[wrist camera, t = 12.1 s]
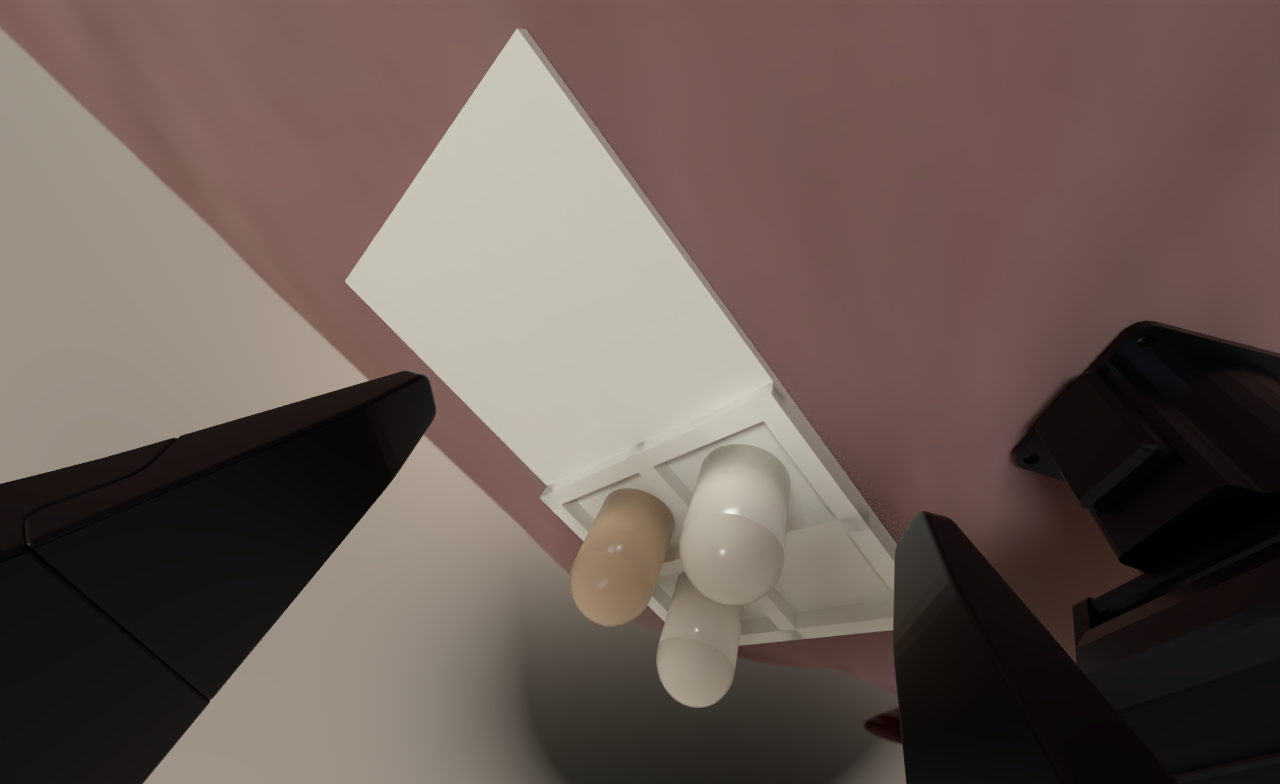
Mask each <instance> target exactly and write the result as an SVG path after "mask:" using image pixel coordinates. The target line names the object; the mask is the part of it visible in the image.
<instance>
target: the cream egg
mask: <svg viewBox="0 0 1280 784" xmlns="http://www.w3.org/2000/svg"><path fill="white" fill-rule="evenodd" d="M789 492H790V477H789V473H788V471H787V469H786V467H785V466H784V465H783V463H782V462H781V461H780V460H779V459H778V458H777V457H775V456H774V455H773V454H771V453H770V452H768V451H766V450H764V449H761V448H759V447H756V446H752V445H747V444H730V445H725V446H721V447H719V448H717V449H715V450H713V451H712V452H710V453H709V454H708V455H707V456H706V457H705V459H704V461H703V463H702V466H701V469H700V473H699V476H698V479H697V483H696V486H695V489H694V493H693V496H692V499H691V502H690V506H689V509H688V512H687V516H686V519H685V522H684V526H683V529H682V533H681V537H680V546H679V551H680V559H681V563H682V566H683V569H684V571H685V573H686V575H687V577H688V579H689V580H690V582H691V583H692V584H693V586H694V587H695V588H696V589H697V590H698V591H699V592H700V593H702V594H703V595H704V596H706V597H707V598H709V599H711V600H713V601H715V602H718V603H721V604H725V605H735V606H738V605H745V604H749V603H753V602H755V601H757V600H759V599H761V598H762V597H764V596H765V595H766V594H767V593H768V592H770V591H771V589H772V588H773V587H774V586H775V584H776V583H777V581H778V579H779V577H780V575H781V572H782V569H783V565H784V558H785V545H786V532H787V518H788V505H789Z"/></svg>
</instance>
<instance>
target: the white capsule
mask: <svg viewBox="0 0 1280 784" xmlns="http://www.w3.org/2000/svg"><path fill="white" fill-rule="evenodd" d="M743 611H744V605H738V606H735V605H725V604H721V603H718V602H715V601H713V600H711V599H709V598H707V597H706V596H704V595H703V594H702V593H700V592H699V591H698V590H697V589H696V588H695V587H694V586H693V584H692V583H691V582H690V580H689V579H688V577H687V575H686V573H685V571H684V572H682V573H681V574H680V575H679V576H678V578H677V581H676V585H675V588H674V592H673V595H672V599H671V602H670V606H669V610H668V613H667V617H666V620H665V624H664V627H663V631H662V634H661V638H660V642H659V645H658V650H657V656H656V660H657V661H656V662H657V670H658V674H659V677H660V680H661V682H662V684H663V686H664V687H665V689H666V690H667V692H668V693H669V694H670V695H671V696H672V697H673V698H674V699H675V700H677V701H678V702H680V703H682V704H684V705H686V706H689V707H696V708H701V707H706V706H710V705H712V704H714V703H716V702H717V701H719V700H720V699H721V698H722V697H723V696H724V695H725V694H726V693H727V691H728V690H729V688H730V686H731V684H732V681H733V678H734V673H735V666H736V660H737V653H738V646H739V639H740V632H741V625H742V618H743Z"/></svg>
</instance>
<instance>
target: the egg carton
mask: <svg viewBox="0 0 1280 784" xmlns="http://www.w3.org/2000/svg"><path fill="white" fill-rule="evenodd" d="M345 282H346V283H347V284H348V285H349V286H350V287H351V288H352V289H353V290H354V291H355V292H356V293H357V294H358V295H359V296H360V297H361V298H362V299H363V300H364V301H365V302H366V303H367V304H368V305H369V306H370V307H371V308H372V309H373V310H374V311H375V312H376V314H377V315H378V316H379V317H380V318H381V319H382V320H383V321H384V322H385V323H386V324H387V325H388V326H389V327H390V328H391V329H392V330H393V331H394V332H395V333H396V334H397V335H398V336H399V337H400V338H401V339H402V340H403V341H404V342H405V343H406V344H407V345H408V346H409V347H410V348H411V349H412V350H413V351H414V352H415V353H416V354H417V355H418V356H419V357H420V358H421V359H422V360H423V361H424V362H425V363H426V364H427V365H428V366H429V367H430V368H431V369H432V370H433V371H434V372H435V373H436V374H437V375H438V376H439V377H440V378H441V379H442V380H443V381H444V382H445V383H446V384H447V385H448V386H449V387H450V388H451V389H452V390H453V391H454V392H455V393H456V394H457V395H458V396H459V397H460V398H461V399H462V400H463V401H464V402H465V403H466V404H467V405H468V406H469V407H470V408H471V409H472V410H473V411H474V413H475V414H476V415H477V416H478V417H479V418H480V419H481V420H482V421H483V422H484V423H485V424H486V425H487V426H488V427H489V428H490V429H491V430H492V431H493V432H494V433H495V434H496V435H497V436H498V437H499V438H500V439H501V440H502V441H503V442H504V443H505V444H506V445H507V446H508V447H509V448H510V449H511V450H512V451H513V452H514V453H515V454H516V455H517V456H518V457H519V458H520V459H521V460H522V461H523V462H524V463H525V464H526V465H527V466H528V467H529V468H530V469H531V470H532V471H533V472H534V473H535V474H536V475H537V476H538V477H539V478H540V479H541V480H542V481H543V482H544V483H545V484H546V485H547V487H546V489H545V490H544V492H543V493H542V495H541V496H540V499H541V500H542V501H543V502H544V503H545V504H546V505H547V506H548V507H549V508H550V509H551V510H552V511H553V512H554V513H555V514H556V515H557V516H558V517H559V518H560V519H561V520H563V521H564V522H565V523H566V524H567V525H568V526H569V527H570V528H571V529H572V530H573V531H574V532H575V533H576V534H577V535H578V536H579V537H580V538H581V539H582V540H583V541H585V539H586V537H587V535H588V533H589V531H590V529H591V527H592V525H593V523H594V521H595V519H596V517H597V515H598V513H599V511H600V509H601V507H602V505H603V503H604V501H605V499H606V497H607V496H608V495H609V494H610V493H611V492H613V491H615V490H618V489H622V488H632V489H638V490H642V491H645V492H647V493H650V494H652V495H654V496H655V497H657V498H658V499H660V500H661V501H662V502H663V503H664V504H665V505H666V506H667V507H668V508H669V509H670V511H671V513H672V515H673V517H674V522H675V526H674V530H673V533H672V536H671V539H670V542H669V545H668V548H667V551H666V554H665V557H664V561H663V564H662V567H661V570H660V573H659V576H658V579H657V582H656V585H655V588H654V591H653V595H652V597H651V600H650V602H649V604H648V606H649V607H650V608H651V609H652V610H653V611H654V612H655V613H656V614H657V615H658V616H659V617H660V618H661V619H662V620H663V621H664V622H665V620H666V617H667V613H668V610H669V606H670V602H671V599H672V595H673V592H674V588H675V585H676V581H677V578H678V576H679V575H680V574H681V573H682V572H684V569H683V566H682V563H681V559H680V551H679V546H680V537H681V533H682V529H683V526H684V522H685V519H686V516H687V512H688V509H689V506H690V502H691V499H692V496H693V493H694V489H695V486H696V483H697V479H698V476H699V473H700V469H701V466H702V463H703V461H704V459H705V457H706V456H707V455H708V454H709V453H710V452H712V451H713V450H715V449H717V448H719V447H721V446H725V445H730V444H747V445H752V446H756V447H759V448H761V449H764V450H766V451H768V452H770V453H771V454H773V455H774V456H775V457H777V458H778V459H779V460H780V461H781V462H782V463H783V465H784V466H785V467H786V469H787V471H788V473H789V477H790V492H789V505H788V518H787V532H786V545H785V558H784V565H783V569H782V572H781V575H780V577H779V579H778V581H777V583H776V584H775V586H774V587H773V588H772V589H771V591H770V592H768V593H767V594H766V595H765V596H764V597H762V598H761V599H759V600H757V601H755V602H753V603H749V604H745V605H744V611H743V618H742V625H741V632H740V639H739V646H741V645H751V644H761V643H770V642H780V641H790V640H800V639H810V638H820V637H829V636H839V635H849V634H859V633H869V632H879V631H889V630H893V610H894V562H895V549H896V546H897V544H896V542H895V541H894V540H893V538H892V537H891V535H890V534H889V533H888V531H887V530H886V529H885V527H884V526H883V524H882V523H881V522H880V520H879V519H878V517H877V516H876V515H875V513H874V512H873V510H872V509H871V508H870V506H869V505H868V504H867V502H866V501H865V499H864V498H863V497H862V495H861V494H860V492H859V491H858V490H857V488H856V487H855V485H854V484H853V483H852V481H851V480H850V479H849V477H848V476H847V474H846V473H845V472H844V470H843V469H842V467H841V466H840V465H839V463H838V462H837V460H836V459H835V458H834V456H833V455H832V454H831V452H830V451H829V449H828V448H827V447H826V445H825V444H824V442H823V441H822V440H821V438H820V437H819V435H818V434H817V433H816V431H815V430H814V429H813V427H812V426H811V424H810V423H809V422H808V420H807V419H806V417H805V416H804V415H803V413H802V412H801V410H800V409H799V408H798V406H797V405H796V404H795V402H794V401H793V399H792V398H791V397H790V395H789V394H788V392H787V391H786V390H785V388H784V387H783V385H782V384H781V383H780V381H779V380H778V379H777V377H776V376H775V374H774V373H773V372H772V370H771V369H770V367H769V366H768V365H767V363H766V362H765V360H764V359H763V358H762V356H761V355H760V354H759V352H758V351H757V349H756V348H755V347H754V345H753V344H752V342H751V341H750V340H749V338H748V337H747V335H746V334H745V333H744V331H743V330H742V328H741V327H740V326H739V324H738V323H737V322H736V320H735V319H734V317H733V316H732V315H731V313H730V312H729V310H728V309H727V308H726V306H725V305H724V303H723V302H722V301H721V299H720V298H719V297H718V295H717V294H716V292H715V291H714V290H713V288H712V287H711V285H710V284H709V283H708V281H707V280H706V278H705V277H704V276H703V274H702V273H701V272H700V270H699V269H698V267H697V266H696V265H695V263H694V262H693V260H692V259H691V258H690V256H689V255H688V253H687V252H686V251H685V249H684V248H683V247H682V245H681V244H680V242H679V241H678V240H677V238H676V237H675V235H674V234H673V233H672V231H671V230H670V228H669V227H668V226H667V224H666V223H665V222H664V220H663V219H662V217H661V216H660V215H659V213H658V212H657V210H656V209H655V208H654V206H653V205H652V203H651V202H650V201H649V199H648V198H647V197H646V195H645V194H644V192H643V191H642V190H641V188H640V187H639V185H638V184H637V183H636V181H635V180H634V178H633V177H632V176H631V174H630V173H629V172H628V170H627V169H626V167H625V166H624V165H623V163H622V162H621V160H620V159H619V158H618V156H617V155H616V153H615V152H614V151H613V149H612V148H611V147H610V145H609V144H608V142H607V141H606V140H605V138H604V137H603V135H602V134H601V133H600V131H599V130H598V128H597V127H596V126H595V124H594V123H593V122H592V120H591V119H590V117H589V116H588V115H587V113H586V112H585V110H584V109H583V108H582V106H581V105H580V103H579V102H578V101H577V99H576V98H575V97H574V95H573V94H572V92H571V91H570V90H569V88H568V87H567V85H566V84H565V83H564V81H563V80H562V78H561V77H560V76H559V74H558V73H557V72H556V70H555V69H554V67H553V66H552V65H551V63H550V62H549V60H548V59H547V58H546V56H545V55H544V53H543V52H542V51H541V49H540V48H539V47H538V45H537V44H536V42H535V41H534V40H533V38H532V37H531V35H530V34H529V33H528V31H527V30H526V29H518V28H517V29H516V31H515V32H514V34H513V35H512V37H511V38H510V40H509V41H508V43H507V44H506V46H505V47H504V49H503V50H502V52H501V53H500V54H499V56H498V57H497V59H496V60H495V62H494V63H493V65H492V66H491V68H490V69H489V71H488V72H487V74H486V75H485V76H484V78H483V79H482V81H481V82H480V84H479V85H478V87H477V88H476V90H475V91H474V93H473V94H472V96H471V97H470V98H469V100H468V101H467V103H466V104H465V106H464V107H463V109H462V110H461V112H460V113H459V115H458V116H457V118H456V119H455V121H454V122H453V123H452V125H451V126H450V128H449V129H448V131H447V132H446V134H445V135H444V137H443V138H442V140H441V141H440V143H439V144H438V145H437V147H436V148H435V150H434V151H433V153H432V154H431V156H430V157H429V159H428V160H427V162H426V163H425V165H424V166H423V168H422V169H421V170H420V172H419V173H418V175H417V176H416V178H415V179H414V181H413V182H412V184H411V185H410V187H409V188H408V190H407V191H406V192H405V194H404V195H403V197H402V198H401V200H400V201H399V203H398V204H397V206H396V207H395V209H394V210H393V212H392V213H391V214H390V216H389V217H388V219H387V220H386V222H385V223H384V225H383V226H382V228H381V229H380V231H379V232H378V234H377V235H376V237H375V238H374V239H373V241H372V242H371V244H370V245H369V247H368V248H367V250H366V251H365V253H364V254H363V256H362V257H361V259H360V260H359V261H358V263H357V264H356V266H355V267H354V269H353V270H352V272H351V273H350V275H349V276H348V278H347V279H346V281H345Z"/></svg>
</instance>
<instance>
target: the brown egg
mask: <svg viewBox="0 0 1280 784" xmlns="http://www.w3.org/2000/svg"><path fill="white" fill-rule="evenodd" d="M674 526H675V522H674V517H673V515H672V513H671V511H670V509H669V508H668V507H667V506H666V505H665V504H664V503H663V502H662V501H661V500H660V499H658V498H657V497H655V496H654V495H652V494H650V493H647V492H645V491H642V490H638V489H632V488H622V489H618V490H615V491H613V492H611V493H610V494H609V495H608V496H607V497H606V499H605V501H604V503H603V505H602V507H601V509H600V511H599V513H598V515H597V517H596V519H595V521H594V523H593V525H592V527H591V529H590V531H589V533H588V535H587V537H586V539H585V541H584V543H583V545H582V547H581V548H580V550H579V552H578V554H577V556H576V558H575V560H574V563H573V565H572V569H571V573H570V590H571V595H572V598H573V601H574V603H575V605H576V606H577V608H578V610H579V611H580V612H581V613H582V614H583V615H584V616H585V617H586V618H587V619H589V620H590V621H592V622H594V623H596V624H599V625H602V626H608V627H611V626H620V625H624V624H626V623H629V622H631V621H632V620H634V619H635V618H637V617H638V616H639V615H640V614H641V613H642V612H643V611H644V610H645V608H646V607H647V605H648V604H649V602H650V600H651V597H652V595H653V591H654V588H655V585H656V582H657V579H658V576H659V573H660V570H661V567H662V564H663V561H664V557H665V554H666V551H667V548H668V545H669V542H670V539H671V536H672V533H673V530H674Z"/></svg>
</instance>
